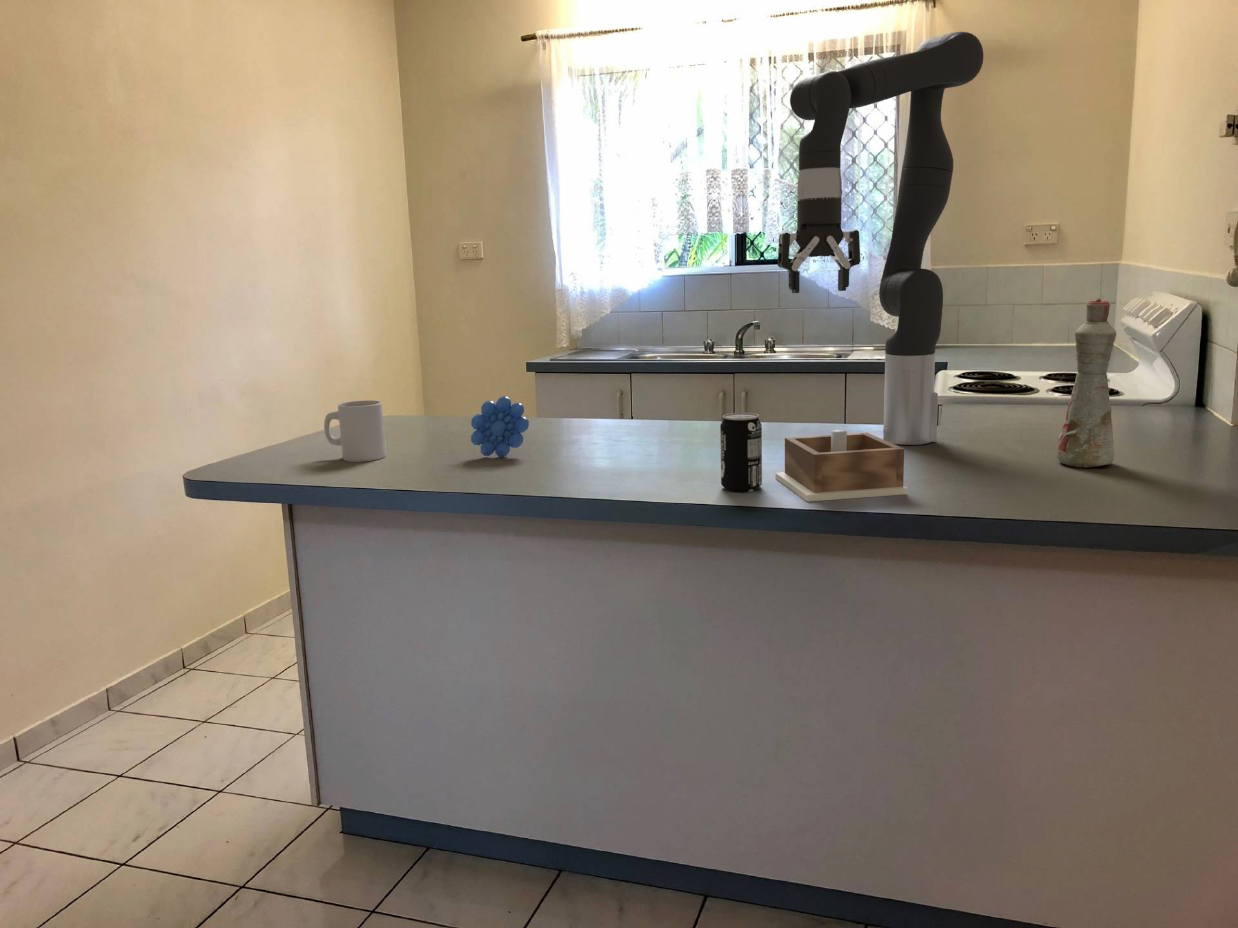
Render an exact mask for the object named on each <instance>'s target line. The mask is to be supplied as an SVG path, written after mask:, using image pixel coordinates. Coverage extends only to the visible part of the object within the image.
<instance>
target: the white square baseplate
mask: <svg viewBox="0 0 1238 928" xmlns="http://www.w3.org/2000/svg"><path fill="white" fill-rule="evenodd" d="M847 434H848V431H847V430H845V429H833V430H831V431H830V435H831V452H838V451H846V446H847ZM774 476H775V477H774V478H775V480H777V481H778V482H780V483H781V484H782V485H784V486H785V487H786V488H788V489H789V490H790V491H792V492H793V493H794V494H796V495H797V496H799V497H800V498H801V499H803V500H804V501H806V502H819V501H835V500H847V499H859V498H873V497H875V498H876V497H887V496H900V495H901V496H903V495H907V494H908V487H906V486H904V485H903V487H892V488H878V489H864V490H850V491H836V492H823V493H813V492H812V491H810V490H809V489H807V488H806V487H804V486H803V485H801V484H800V483H799V482H797V481H796V480H794V479H793V478H791V477H790V476H788V475H787V474H785V471H783V472H782V471H781V472H775V473H774Z"/></svg>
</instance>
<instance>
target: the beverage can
mask: <svg viewBox="0 0 1238 928" xmlns="http://www.w3.org/2000/svg"><path fill="white" fill-rule="evenodd" d="M722 418H723V419H722V422H721V423H720V426H719V427H720V432H719V433H720V435H719V436H720V483H721V486H722V487H723V489H724V490H726V491H727V492H733V493H749V492H751V493H752V492H754V491H757V490H759V489H760V487H761V486H762V484H763V448H762V447H763V437H762V436H763V435H762V433H763V429H762V427H763V425H762V423H761V420H760V415H759V414H758V413H755V412H731V413H729V412H728V413H725V414H723V415H722Z"/></svg>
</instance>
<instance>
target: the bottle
mask: <svg viewBox="0 0 1238 928" xmlns="http://www.w3.org/2000/svg"><path fill="white" fill-rule="evenodd" d="M1085 305H1086V316H1085V317H1086V320H1085V321H1084V323H1083V324H1081V325H1080V326H1079V327H1078V328H1077V329H1076V330H1075V332H1074V338H1075V350H1076V354H1075V355H1076V369H1077V372H1076V375H1075V381H1074V383H1073V387H1072V390H1071V391H1072V392H1071V395H1070V398H1069V399H1070V400H1069V402H1068V406H1067V410H1066V413H1065V418H1064V421H1063V424H1062V427H1061V433H1060V434H1059V437H1058V447H1057V450H1056V458H1057V460H1058V462H1059V463H1060V464H1063V465H1065V466H1068V467H1069V466H1071V467H1075V468H1095V467H1101V466H1108V465H1111V464H1112V463H1113V462H1114V459H1115V446H1114V445H1115V443H1114V430H1113V421H1112V412H1113V411H1112V410H1113V409H1112V406H1111V402H1110V392H1109V381H1108V380H1109V379H1108V373H1107V372H1108V369H1109V365H1110V364H1109V363H1110V361H1111V358H1112V352H1113V348H1114V343H1115V341H1116V337H1117V330H1116V329H1115V328H1114V327H1113V326H1112V325H1111V324H1110V322H1109V321H1108V318H1109V314H1110V308H1111V304H1110V302H1109V301H1108V300H1104V301H1103V300H1102V299H1101V298H1097V299H1096V300H1088V301H1087V303H1086V304H1085Z"/></svg>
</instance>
